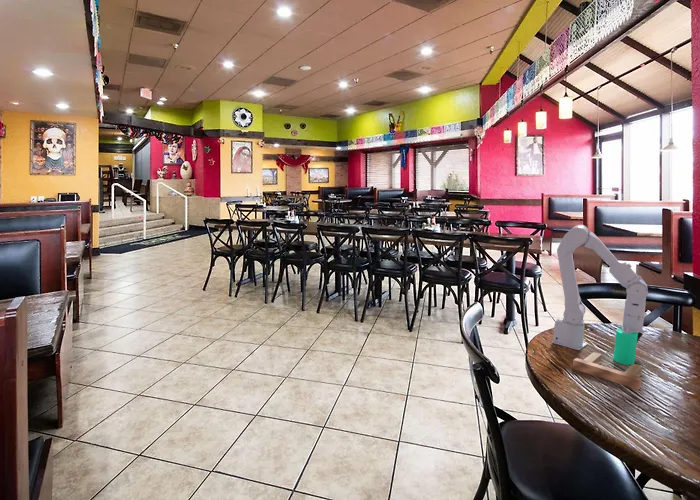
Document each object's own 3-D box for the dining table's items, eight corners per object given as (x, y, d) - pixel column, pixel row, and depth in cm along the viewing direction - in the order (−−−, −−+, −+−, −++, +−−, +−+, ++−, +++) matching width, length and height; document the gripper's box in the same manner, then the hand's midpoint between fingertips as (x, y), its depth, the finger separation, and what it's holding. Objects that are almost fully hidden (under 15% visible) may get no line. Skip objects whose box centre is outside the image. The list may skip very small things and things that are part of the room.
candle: (637, 365, 134) (642, 330, 132) (617, 363, 135) (621, 329, 133) (629, 357, 140) (633, 324, 138) (610, 356, 141) (613, 323, 139)
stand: (572, 368, 132) (573, 359, 131) (586, 358, 139) (586, 350, 139) (638, 389, 119) (639, 380, 118) (649, 377, 126) (650, 368, 125)
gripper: (641, 322, 131) (636, 362, 133) (653, 312, 140) (649, 349, 143) (616, 317, 136) (612, 355, 138) (630, 307, 145) (625, 343, 148)
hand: (629, 352), depth 141 cm, fingers closed
